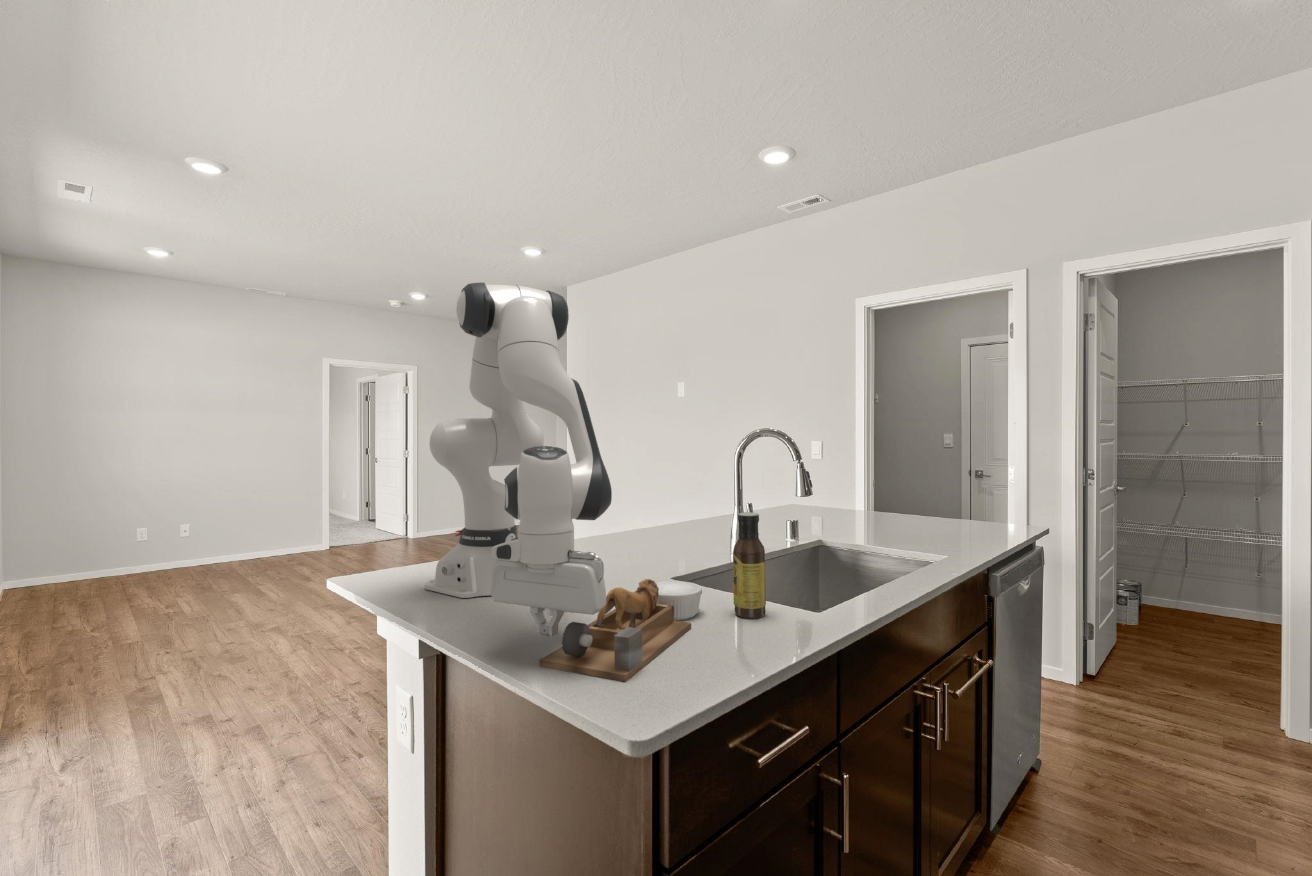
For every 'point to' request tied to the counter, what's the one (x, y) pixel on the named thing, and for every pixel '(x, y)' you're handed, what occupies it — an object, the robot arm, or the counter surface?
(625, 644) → the chassis
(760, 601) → the sauce bottle
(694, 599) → the ramekin
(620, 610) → the lion figurine
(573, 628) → the wheel
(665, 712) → the counter surface
